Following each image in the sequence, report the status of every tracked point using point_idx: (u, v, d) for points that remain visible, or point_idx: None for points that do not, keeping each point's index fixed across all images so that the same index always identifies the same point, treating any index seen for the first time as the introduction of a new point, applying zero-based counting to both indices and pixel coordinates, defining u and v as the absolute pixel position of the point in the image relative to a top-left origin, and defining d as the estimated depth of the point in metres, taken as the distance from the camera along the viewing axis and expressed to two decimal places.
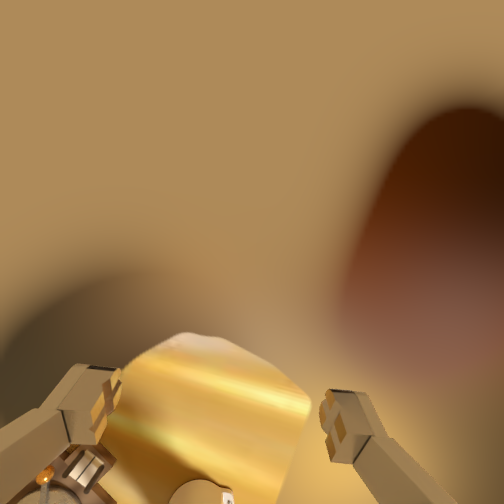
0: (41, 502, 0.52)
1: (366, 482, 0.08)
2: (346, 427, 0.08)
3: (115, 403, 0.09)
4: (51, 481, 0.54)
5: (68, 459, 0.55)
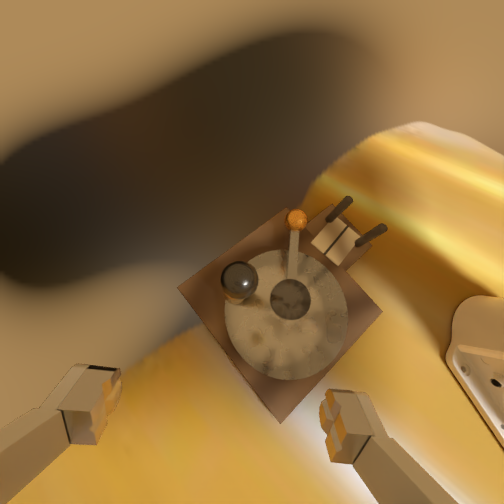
0: (291, 259, 0.31)
1: (366, 482, 0.08)
2: (346, 427, 0.08)
3: (115, 403, 0.09)
4: None
5: (310, 224, 0.36)
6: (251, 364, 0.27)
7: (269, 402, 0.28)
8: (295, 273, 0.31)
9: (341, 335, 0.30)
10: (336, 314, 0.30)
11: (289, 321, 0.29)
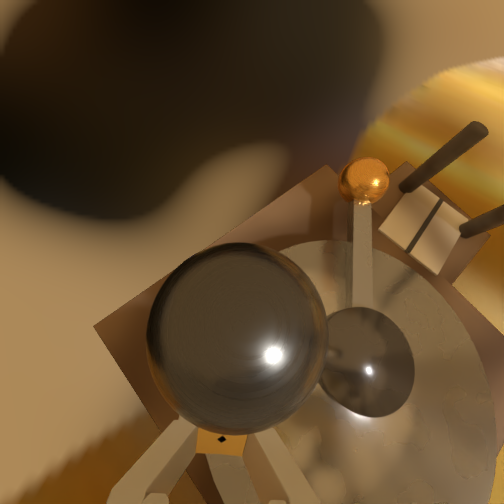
0: (360, 261, 0.14)
1: (250, 474, 0.08)
2: None
3: None
4: None
5: None
6: None
7: None
8: (370, 294, 0.13)
9: (487, 454, 0.12)
10: (466, 396, 0.13)
11: (359, 414, 0.12)
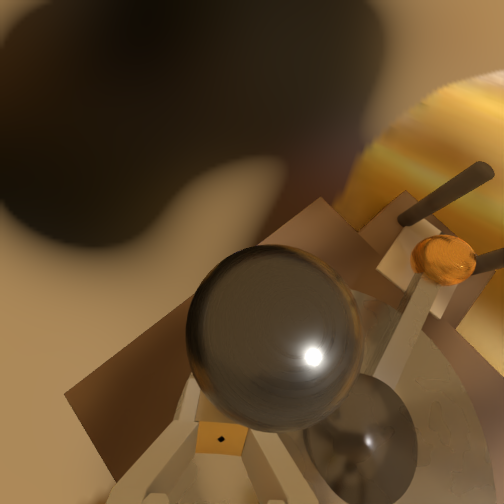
0: (401, 336, 0.13)
1: (249, 474, 0.08)
2: (227, 417, 0.08)
3: None
4: None
5: (370, 230, 0.18)
6: None
7: None
8: (397, 373, 0.12)
9: None
10: None
11: (328, 487, 0.11)
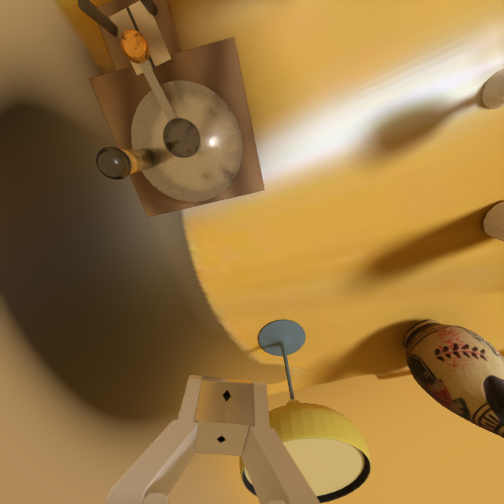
0: (160, 98, 0.31)
1: (249, 474, 0.08)
2: (227, 417, 0.08)
3: None
4: None
5: (115, 61, 0.31)
6: (187, 200, 0.37)
7: (249, 190, 0.39)
8: (171, 111, 0.32)
9: (238, 141, 0.34)
10: (226, 125, 0.33)
11: (194, 156, 0.35)
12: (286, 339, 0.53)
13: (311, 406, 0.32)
